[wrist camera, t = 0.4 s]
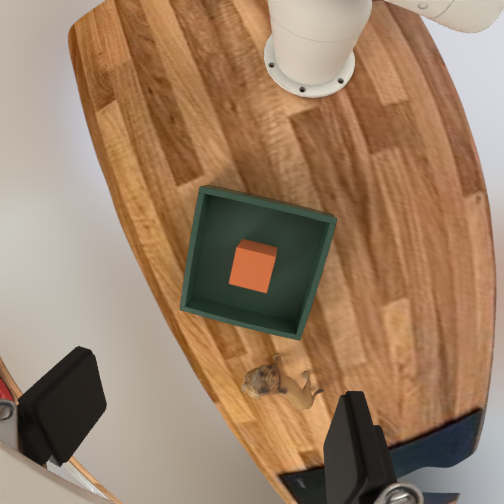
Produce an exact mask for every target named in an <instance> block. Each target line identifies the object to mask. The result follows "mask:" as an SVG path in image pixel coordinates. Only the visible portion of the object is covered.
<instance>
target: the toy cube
mask: <svg viewBox="0 0 504 504" xmlns="http://www.w3.org/2000/svg"><path fill="white" fill-rule="evenodd" d="M276 253H277V247H274V246H270V245H266V244H262V243H258V242H254V241H250V240H245V239H242V240H241V242H240V243H239V244H238V246H237V247H236V252H235V257H234V261H233V266H232V271H231V276H230V280H229V284H232V285H236V286H240V287H244V288H248V289H252V290H256V291H260V292H264V293H267V290H268V286H269V282H270V278H271V274H272V271H273V267H274V263H275V259H276Z"/></svg>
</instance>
